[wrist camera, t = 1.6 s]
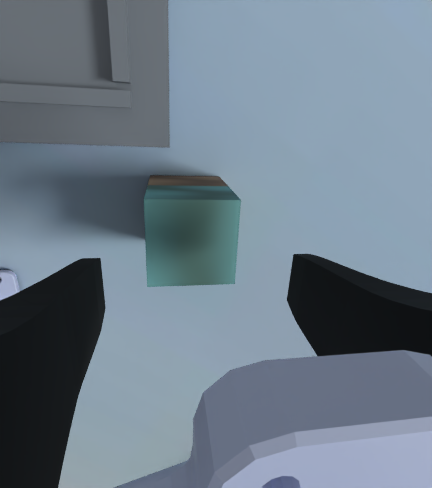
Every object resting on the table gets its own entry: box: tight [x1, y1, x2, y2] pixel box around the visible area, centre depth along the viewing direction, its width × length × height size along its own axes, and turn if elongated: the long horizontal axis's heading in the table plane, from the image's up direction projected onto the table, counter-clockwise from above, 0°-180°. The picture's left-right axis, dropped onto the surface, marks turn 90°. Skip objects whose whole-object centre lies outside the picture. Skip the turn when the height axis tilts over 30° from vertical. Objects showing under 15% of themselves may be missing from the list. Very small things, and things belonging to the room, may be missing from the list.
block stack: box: [144, 175, 241, 287], centre depth 18 cm, size 4×4×6 cm
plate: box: [0, 0, 170, 148], centre depth 15 cm, size 12×12×2 cm
